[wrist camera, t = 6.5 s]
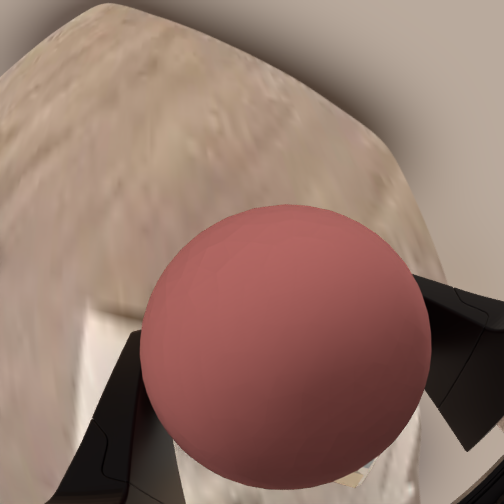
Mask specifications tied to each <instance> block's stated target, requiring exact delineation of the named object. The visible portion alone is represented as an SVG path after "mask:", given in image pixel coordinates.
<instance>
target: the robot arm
mask: <svg viewBox="0 0 504 504" xmlns="http://www.w3.org/2000/svg"><path fill="white" fill-rule="evenodd" d="M412 275H413V277H414V279H415V280H416V282H417V284H418V286H419V288H420V291H421V293H422V296H423V299H424V302H425V306H426V309H427V312H428V317H429V323H430V330H431V360H430V368H429V373H428V377H427V381H426V385H425V391H426V392H427V394H428V395H429V397H430V398H431V400H432V401H433V402H434V404H435V405H436V407H437V408H438V410H439V411H440V413H441V414H442V416H443V417H444V419H445V420H446V422H447V423H448V425H449V426H450V428H451V429H452V431H453V432H454V434H455V435H456V437H457V439H458V440H459V442H460V443H461V445H462V446H463V448H464V449H465V451H467V452H468V451H469V450H470V449H472V448H473V447H474V446H475V445H476V444H477V443H478V442H479V441H480V440H481V439H482V438H484V437H485V435H487V434H488V433H489V432H490V431H491V430H492V429H493V428H494V427H495V426H496V425H498V427H499V428H500V429H501V430H502V431H503V433H504V301H500V300H496V299H492V298H488V297H484V296H480V295H477V294H473V293H470V292H467V291H463V290H460V289H457V288H453V287H451V286H448V285H445V284H442V283H439V282H436V281H433V280H429V279H426V278H423V277H420V276H417V275H414V274H412ZM141 330H142V329H141ZM141 330H137V331H134V332H132V333H131V334H130V336H129V338H128V340H127V342H126V344H125V346H124V348H123V350H122V352H121V354H120V357H119V359H118V361H117V363H116V365H115V367H114V369H113V371H112V374H111V376H110V378H109V380H108V382H107V385H106V387H105V389H104V391H103V394H102V396H101V398H100V400H99V403H98V405H97V407H96V410H95V412H94V414H93V417H92V418H93V419H91V421H90V424H89V426H88V428H87V431H86V433H85V435H84V438H83V440H82V442H81V444H80V446H79V448H78V450H77V452H76V454H75V456H74V458H73V460H72V462H71V464H70V466H69V468H68V469H67V471H66V473H65V475H64V477H63V479H62V481H61V483H60V485H59V487H58V489H57V490H56V492H55V493H54V495H53V496H52V497H51V498H50V500H48V501H47V502H46V503H45V504H186V502H185V498H184V494H183V489H182V485H181V480H180V475H179V471H178V466H177V461H176V455H175V450H174V445H173V439H172V437H171V436H170V435H169V434H168V432H167V431H166V430H165V428H164V427H163V425H162V424H161V422H160V420H159V419H158V417H157V415H156V413H155V411H154V409H153V407H152V404H151V402H150V399H149V397H148V394H147V392H146V388H145V384H144V381H143V376H142V368H141V360H140V338H141ZM451 504H504V455H503V456H502V457H501V458H500V459H499V460H498V461H497V462H496V463H495V464H494V465H493V466H492V467H491V468H490V469H489V470H488V471H487V472H486V473H485V474H484V475H483V476H482V477H481V478H480V479H479V480H478V481H477V482H476V483H475V484H473V485H472V486H471V487H470V488H469V489H468V490H467V491H465V492H464V493H463V494H462V495H461V496H460V497H458V498H457V499H456V500H455V501H454V502H452V503H451Z"/></svg>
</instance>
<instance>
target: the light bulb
mask: <svg viewBox="0 0 504 504" xmlns="http://www.w3.org/2000/svg"><path fill="white" fill-rule="evenodd" d="M140 360H141V368H142V376H143V381H144V384H145V388H146V392H147V394H148V397H149V399H150V402H151V404H152V407H153V409H154V411H155V413H156V415H157V417H158V419H159V420H160V422H161V424H162V425H163V427H164V428H165V430H166V431H167V432H168V434H169V435H170V436H171V437H172V438H173V440H174V441H175V442H176V443H177V444H178V445H179V446H180V448H181V449H183V450H184V451H185V452H186V453H187V454H188V455H189V456H190V457H192V458H193V459H194V460H196V461H197V462H199V463H200V464H201V465H203V466H204V467H206V468H207V469H209V470H211V471H212V472H214V473H216V474H218V475H220V476H222V477H224V478H227V479H229V480H232V481H235V482H238V483H241V484H244V485H247V486H252V487H258V488H264V489H276V490H294V489H303V488H311V487H315V486H319V485H322V484H326V483H330V482H333V481H336V480H338V479H340V478H342V477H345V476H347V475H349V474H351V473H353V472H355V471H357V470H359V469H360V468H362V467H363V466H365V465H366V464H368V463H369V462H370V461H372V460H373V459H375V458H376V457H377V456H379V455H380V454H381V453H382V452H383V451H384V450H385V449H386V448H387V447H389V446H390V445H391V444H392V443H393V442H394V441H395V440H396V438H397V437H398V436H399V434H400V433H401V432H402V430H403V429H404V428H405V426H406V425H407V424H408V422H409V420H410V419H411V417H412V415H413V413H414V412H415V410H416V408H417V406H418V404H419V401H420V399H421V396H422V394H423V391H424V389H425V385H426V381H427V377H428V373H429V368H430V360H431V330H430V323H429V317H428V312H427V309H426V306H425V302H424V299H423V296H422V293H421V291H420V288H419V286H418V284H417V282H416V280H415V279H414V277H413V275H412V274H411V272H410V270H409V269H408V267H407V265H406V264H405V262H404V261H403V260H402V259H401V258H400V257H399V255H398V254H397V253H396V252H395V251H394V250H393V248H392V247H391V246H390V245H389V244H388V243H386V242H385V241H384V240H383V239H382V238H381V237H379V236H378V235H377V234H376V233H374V232H373V231H371V230H370V229H368V228H367V227H365V226H363V225H362V224H360V223H359V222H357V221H354V220H352V219H350V218H348V217H346V216H344V215H341V214H338V213H335V212H333V211H330V210H325V209H320V208H315V207H311V206H302V205H286V204H285V205H276V206H268V207H261V208H254V209H251V210H248V211H245V212H242V213H239V214H236V215H233V216H230V217H227V218H225V219H223V220H221V221H220V222H218V223H216V224H214V225H212V226H211V227H209V228H207V229H206V230H204V231H202V232H201V233H200V234H199V235H197V236H196V237H195V238H193V239H192V240H191V241H190V242H189V243H188V244H187V245H186V246H185V247H183V248H182V249H181V250H180V251H179V253H178V254H177V255H176V256H175V257H174V259H173V260H172V261H171V262H170V263H169V265H168V266H167V267H166V269H165V270H164V272H163V273H162V275H161V277H160V278H159V280H158V282H157V284H156V286H155V288H154V290H153V292H152V294H151V296H150V299H149V302H148V305H147V308H146V312H145V315H144V318H143V323H142V330H141V338H140Z"/></svg>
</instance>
